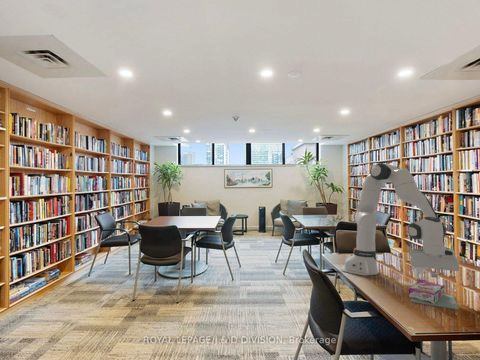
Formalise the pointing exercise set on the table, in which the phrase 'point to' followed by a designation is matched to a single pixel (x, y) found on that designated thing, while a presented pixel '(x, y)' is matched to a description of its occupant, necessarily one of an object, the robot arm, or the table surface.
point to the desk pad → (441, 302)
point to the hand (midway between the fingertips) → (434, 277)
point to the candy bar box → (426, 291)
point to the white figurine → (419, 270)
